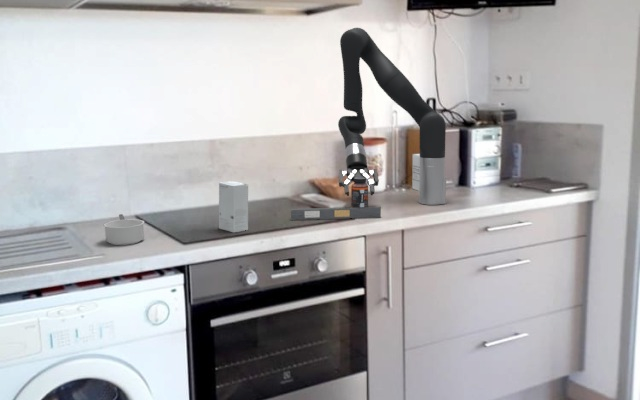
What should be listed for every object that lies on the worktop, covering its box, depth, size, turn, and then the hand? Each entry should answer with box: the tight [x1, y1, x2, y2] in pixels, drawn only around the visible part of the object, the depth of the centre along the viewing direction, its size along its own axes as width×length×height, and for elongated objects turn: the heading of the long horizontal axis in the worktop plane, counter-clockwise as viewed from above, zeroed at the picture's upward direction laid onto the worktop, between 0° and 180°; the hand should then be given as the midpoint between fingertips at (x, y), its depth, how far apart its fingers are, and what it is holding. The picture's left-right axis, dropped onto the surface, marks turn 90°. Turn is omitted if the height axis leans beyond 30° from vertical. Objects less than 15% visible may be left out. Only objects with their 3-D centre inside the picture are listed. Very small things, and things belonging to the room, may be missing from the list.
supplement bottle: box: [350, 177, 369, 207], centre depth 228 cm, size 6×6×11 cm
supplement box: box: [411, 153, 420, 192], centre depth 267 cm, size 9×9×15 cm
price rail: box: [290, 206, 382, 221], centre depth 213 cm, size 30×2×4 cm, turn 94°
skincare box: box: [218, 180, 249, 233], centre depth 199 cm, size 8×6×15 cm
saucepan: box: [103, 213, 145, 246], centre depth 190 cm, size 12×20×6 cm, turn 21°
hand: (360, 194), depth 227 cm, fingers open, 8 cm apart
